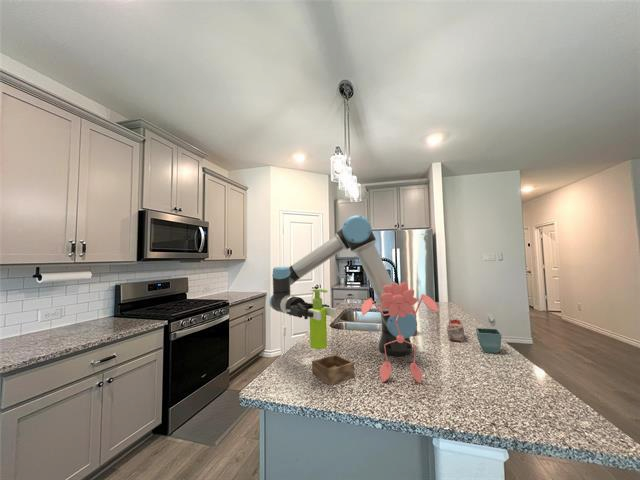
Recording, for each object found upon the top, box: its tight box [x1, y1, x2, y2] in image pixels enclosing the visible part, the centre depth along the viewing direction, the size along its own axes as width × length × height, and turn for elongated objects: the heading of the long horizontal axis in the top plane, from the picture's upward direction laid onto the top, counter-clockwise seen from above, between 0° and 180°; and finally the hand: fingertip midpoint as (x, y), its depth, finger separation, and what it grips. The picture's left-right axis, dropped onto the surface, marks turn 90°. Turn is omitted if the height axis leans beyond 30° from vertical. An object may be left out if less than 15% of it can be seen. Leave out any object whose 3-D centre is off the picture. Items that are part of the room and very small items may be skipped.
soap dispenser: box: [309, 288, 329, 350], centre depth 97 cm, size 6×7×20 cm
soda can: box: [411, 309, 418, 337], centre depth 152 cm, size 7×7×13 cm
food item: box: [446, 318, 465, 343], centre depth 142 cm, size 14×8×10 cm, turn 157°
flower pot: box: [475, 327, 503, 354], centre depth 123 cm, size 9×9×9 cm
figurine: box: [360, 281, 439, 398], centre depth 94 cm, size 15×26×35 cm, turn 79°
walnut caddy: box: [311, 354, 355, 386], centre depth 102 cm, size 11×11×5 cm
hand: (327, 314), depth 93 cm, fingers closed on soap dispenser, 6 cm apart
